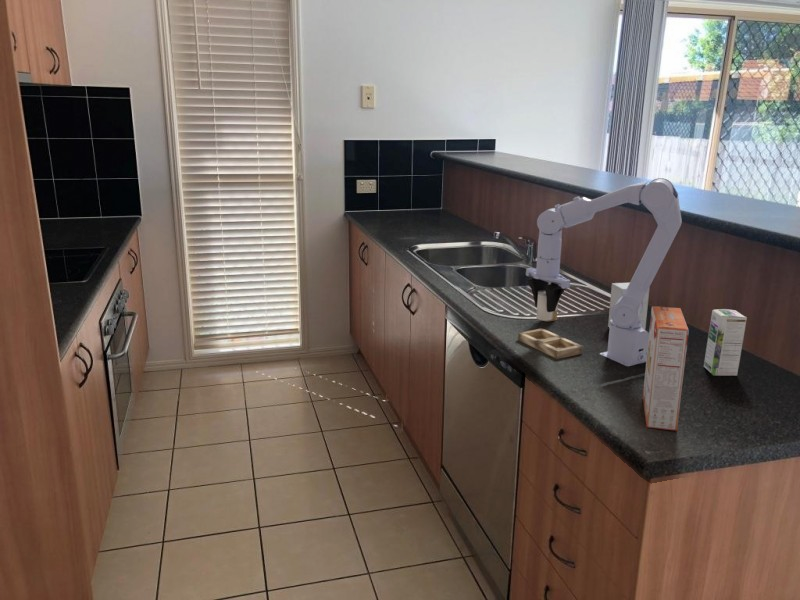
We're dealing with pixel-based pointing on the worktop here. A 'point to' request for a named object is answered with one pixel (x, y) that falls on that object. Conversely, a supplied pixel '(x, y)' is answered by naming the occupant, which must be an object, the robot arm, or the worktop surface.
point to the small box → (619, 290)
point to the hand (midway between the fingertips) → (545, 308)
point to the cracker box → (664, 367)
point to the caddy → (550, 343)
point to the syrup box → (725, 342)
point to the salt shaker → (543, 307)
